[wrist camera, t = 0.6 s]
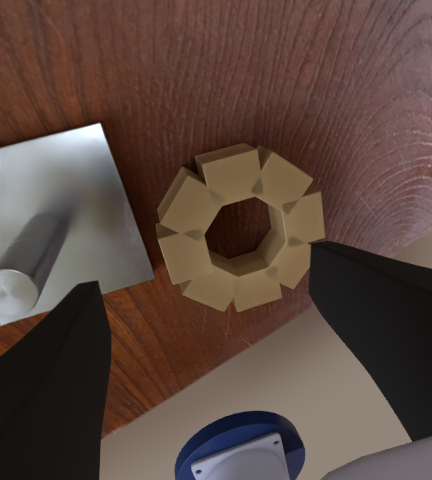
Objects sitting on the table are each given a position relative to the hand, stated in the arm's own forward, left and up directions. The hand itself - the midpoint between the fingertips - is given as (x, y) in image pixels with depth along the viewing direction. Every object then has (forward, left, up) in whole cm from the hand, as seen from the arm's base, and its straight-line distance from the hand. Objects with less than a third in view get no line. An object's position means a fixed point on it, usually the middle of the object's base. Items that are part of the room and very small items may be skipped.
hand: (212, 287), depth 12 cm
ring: (-2, -3, -9) cm, 10 cm away
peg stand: (+1, +7, -9) cm, 12 cm away
